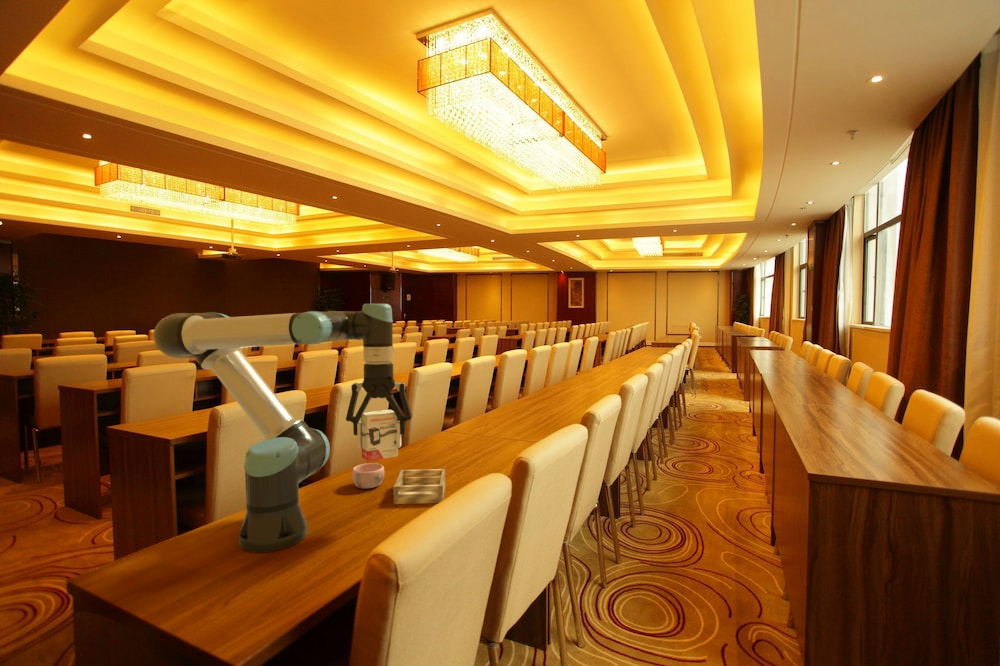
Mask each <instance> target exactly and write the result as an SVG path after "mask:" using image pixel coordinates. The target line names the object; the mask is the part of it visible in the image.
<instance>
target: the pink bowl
mask: <svg viewBox="0 0 1000 666" xmlns="http://www.w3.org/2000/svg"><path fill="white" fill-rule="evenodd" d="M384 478H385V467H384V465H382V464H380V463H376V462H370V463H369V462H368V463H362V464H358V465H355V466H354V467H353V468H352V470H351V479H352V482H353V483H354V485H355V486H356V487H357V488H359V489H373V488H375V487H379V486H380V485H381V484H382V483H383V480H384Z"/></svg>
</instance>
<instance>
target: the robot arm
mask: <svg viewBox="0 0 1000 666" xmlns="http://www.w3.org/2000/svg"><path fill="white" fill-rule="evenodd" d="M393 323H394V320H393V309H392V306H391V304H389V303H364V304H362V308H361V310H360V311H359V310H358V311H351V310H350V311H349V310H348V311H344V310H343V311H342V310H341V311H336V310H328V311H317V310H313V311H311V310H309V311H305V312H293V313H292V312H291V313H278V314H277V313H275V314H263V315H261V314H258V315H247V316H246V315H244V316H229V315H226V314H223V313H220V312H219V313H218V312H215V311H214V312H212V311H211V312H210V311H207V312H195V313H194V312H191V313H190V312H179V313H178V312H177V313H172V314H170V315H167V316H165V317H164V318H162V319H160V320H159V321H158V323H157V324H156V325H155V328H154V331H153V337H152V338H153V342H154V344H155V346H156V347H157V349H158V350H159V351H160V352H161V353H162V354H163V355H166V356H168V357H171V358H175V359H188V358H190V359H191V358H194V360H195V361H196V362H197V363H198V365H200V367H201V368H202V369H203V370H210V371H212V372H213V373H214V375H215V376H216V377H217V378H218V379H219V381H220V382H221V384H222V385H223V386H224V388H225V389H226V390H227V391H228V392H229V394H230V395H231V397H232V398H233V399H234V400H235V402H236V403H237V404H238V405H239V407H241V409H242V410H243V412H244V413H245V414H246V416H247V417H248V418H249V419H250V420H251V422H252V423H253V424H254V425H255V427H256V428H257V429H258V431H259V432H260V433H261V434H262V435H263V437H264V438H265V440H260V441H258V442H256V443H254V444H253V445H251V446H250V447H249V448H248V449H247V450H246V452H245V456H244V457H245V458H244V459H245V461H244V465H243V466H244V467H243V468H244V472H245V473H244V478H245V502H246V503H245V504H246V505H245V506H246V511H245V514H244V519H243V521H242V524H241V528H240V531H239V532H238V533H239V534H238V545H239V546H238V547H239V548H240V549H241V550H243V551H245V552H249V553H256V554H258V553H259V554H261V553H270V552H276V551H280V550H284V549H287V548H290V547H292V546H294V545H297V544H298V543H300V542H301V541H303V540H304V539H305V537H306V536H307V535H308V523H307V520H306V518H305V514H304V513H303V510H302V507H301V506H300V498H299V497H300V494H299V492H300V491H299V484H300V483H301V482H303V481H304V480H305V479H307V478H308V477H310V476H311V475H315V474H316V473H317V472H318V471H320V470H321V469H322V467H324V466H325V465H326V463H327V462H328V460H329V458H330V451H331V447H330V446H331V445H330V442H329V439H328V437H327V436H326V435H325V434H324V433H323V431H321V430H319V429H315V428H312V427H309V426H308V424H307V423H306V422H305V421H304V419H299V418H295V417H294V416H293V415H292V413H291V412H290V411H289V410H288V408H287V407H286V406H285V405H284V403H283V402H282V401H281V400H280V399H279V397H278V396H277V395H276V394H275V393H274V391H273V389H272V388H271V387H270V386H269V385H268V384H267V382H266V381H265V379H264V378H263V376H261V375H260V372H258V371H257V369H256V368H255V367H254V366H253V364H252V363H251V362H250V360H249V359H248V358H247V356H245V354H244V353H243V352H242V351H243V348H254V347H255V348H257V347H272V346H273V347H275V346H286V345H287V346H290V345H320V344H322V343H330V342H336V341H347V340H348V341H352V340H353V341H356V340H357V341H361V340H362V341H363V346H362V347H363V362H364V364H363V380H362V382H358V383H357V382H354V383H352V384H351V386H350V387H351V396H350V400H349V404H348V409H347V413H346V415H345V416H346V417H345V421H347V422H351V423H352V425H353V430H352V431H353V435H354V436H357V449H358V450H360V449H361V450H362V441H361V415H362V414H363V413H365V411H366V409H367V408H368V405H369V403H370V401H371V400H372V399H385V400H386V401H387V402H388V405H390V407H391V410H392V411H394V413H395V414H396V416H397V418H398V422H397V448H398V449H400V448H401V447H402V435H404V434H406V422H407V421H410V420H411V419H412V417H413V413H412V409H411V407H410V404H409V400H408V396H407V393H406V382H405V381H403V382H396V381H395V379H394V363H393V362H392V361H393V360H394V347H393V346H394V345H393V344H394V343H393V340H394V339H393V338H394V337H393V332H394V331H393V326H394V325H393ZM394 388H396V391H397V392H398V393H399V397H400V400H401V404H402V408H403V411H404V412H403V411H402V409H401V408H400V406H399V404H398V402H397V401H396V398H395V397H394V394H393V393H392V391H393V390H394ZM362 389H363V390H364V391H365V392H366V395H365V397H364V399H363V401H362V403H361V404H360V405H359V408H358V410H357V412H356V414H355V409H356V407H357V406H356V405H357V401H358V399H359V398H358V397H359V393H360V392H361V390H362ZM354 414H355V416H354Z"/></svg>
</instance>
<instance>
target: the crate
mask: <svg viewBox="0 0 1000 666" xmlns="http://www.w3.org/2000/svg"><path fill="white" fill-rule="evenodd" d="M406 476H408V477H406ZM409 476H410V477H409ZM446 485H447V483H446V468H437V469H436V468H434V469H433V468H432V469H431V468H430V469H401V470H400V472H399V474H398V477H397V478H396V482H395V483H394V485H393V504H394V505H401V504H402V505H408V504H409V505H411V504H415V505H416V504H440V503H439V502H440V501H442V500H443V501H444V498H445V490H446Z"/></svg>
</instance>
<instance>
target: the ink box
mask: <svg viewBox="0 0 1000 666" xmlns="http://www.w3.org/2000/svg"><path fill="white" fill-rule="evenodd" d="M398 421H399V420H398V418H397V416H396V414H395V413H394V411H393V409H383V410H374V411H368V412H364V413H363V414H362V415H361V418H360V422H361V441H362V448H361V458H363V459H364V460H365V461H366V462H371V461H377V460H383V459H389V458H395V457H398V456H399V448H397V422H398Z"/></svg>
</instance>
